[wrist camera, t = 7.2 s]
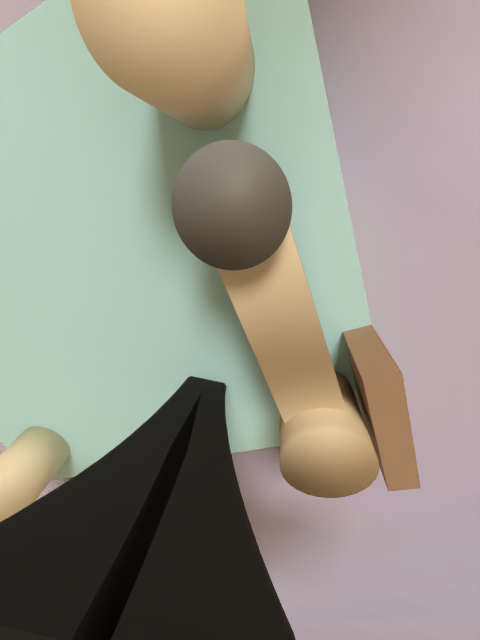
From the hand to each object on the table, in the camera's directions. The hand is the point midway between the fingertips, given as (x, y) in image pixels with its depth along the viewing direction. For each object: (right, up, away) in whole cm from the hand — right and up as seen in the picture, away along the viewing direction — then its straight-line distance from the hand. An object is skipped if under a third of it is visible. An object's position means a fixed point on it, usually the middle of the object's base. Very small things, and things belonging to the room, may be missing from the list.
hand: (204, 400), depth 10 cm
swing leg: (+3, +3, -1) cm, 4 cm away
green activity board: (-4, +3, +1) cm, 5 cm away
